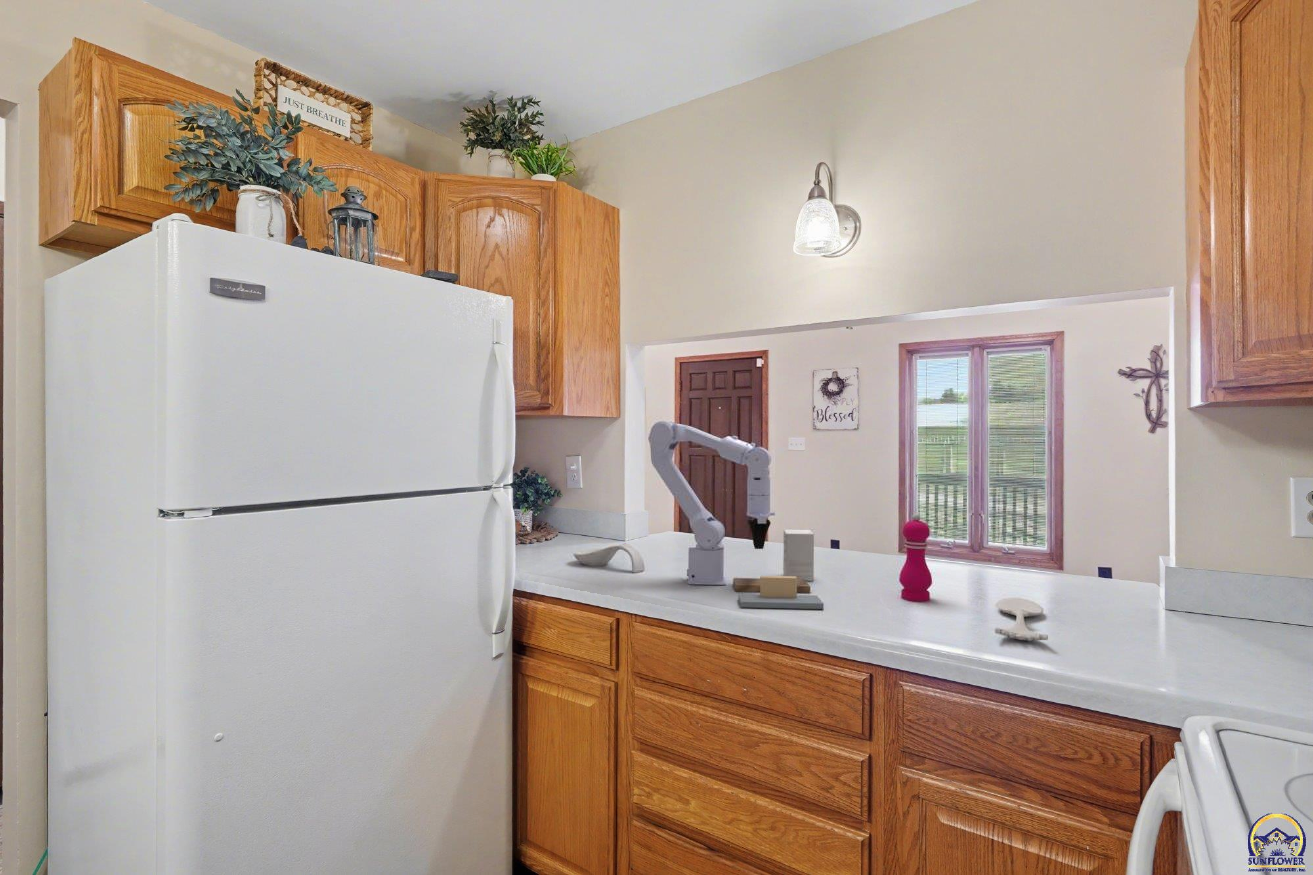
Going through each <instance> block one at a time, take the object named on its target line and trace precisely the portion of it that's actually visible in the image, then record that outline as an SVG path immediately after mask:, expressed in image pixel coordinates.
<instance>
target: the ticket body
mask: <svg viewBox="0 0 1313 875" xmlns="http://www.w3.org/2000/svg"><path fill="white" fill-rule="evenodd" d="M760 578H761V577H760ZM760 578H756V577H755V578H754V577H749V578H748V577H746V578H745V577H732V582H733V583H732V584H733V588H734V592H737V593H740V592H741V593H743V592H744V593H760ZM797 594H811V585H810V584H809V583H808V581H805V579H797Z"/></svg>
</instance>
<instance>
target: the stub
mask: <svg viewBox="0 0 1313 875" xmlns="http://www.w3.org/2000/svg"><path fill="white" fill-rule="evenodd" d="M737 597H738V598H737V599H738V602H739V605H740V608H752V609H754V608H756V609H757V608H758V609H759V608H761V609H762V608H763V609H800V610H801V609H805V610H806V609H807V610H809V609H810V610H813V609H814V610H824V608H825V607H824V602H823V601H822V600H821V598H820V597H819V596H818V595H817V594H816V595H814V594H813V595H812V594H811V595H810V594H809V595H806V594H803V595H802V594H798V593H797V578H796V576H784V575H760V592H759V593H754V594H753V593H738V596H737Z"/></svg>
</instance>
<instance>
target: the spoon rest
mask: <svg viewBox="0 0 1313 875" xmlns="http://www.w3.org/2000/svg"><path fill="white" fill-rule="evenodd" d="M619 550H622V551H624V552H625V553H627V554H628V555H629V558H630V561H631V568H632V571H631V572H632V574H636V573H640V572H644V571H645V569H646V568H645V562H644V560H643V557H642V555H641V554H640V552H639V551H638V550H637V549H636V548H635V547H634V546H633V545H630V544H627V543H621V544H619V545H611V546H607V547H605V548H596V549H594V548H593V549H587V550H586V549H585V550H579V551H576V552H574V553H573V556H574V558H575V559H576V560H577V561H578V562H579V563H581V564H583V565H585V566H587V567H603V566H605V565H607V564H608V563H609V562H610V561H611V560H612V559H613V558H614V556H616V553H617V552H618V551H619Z"/></svg>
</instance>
